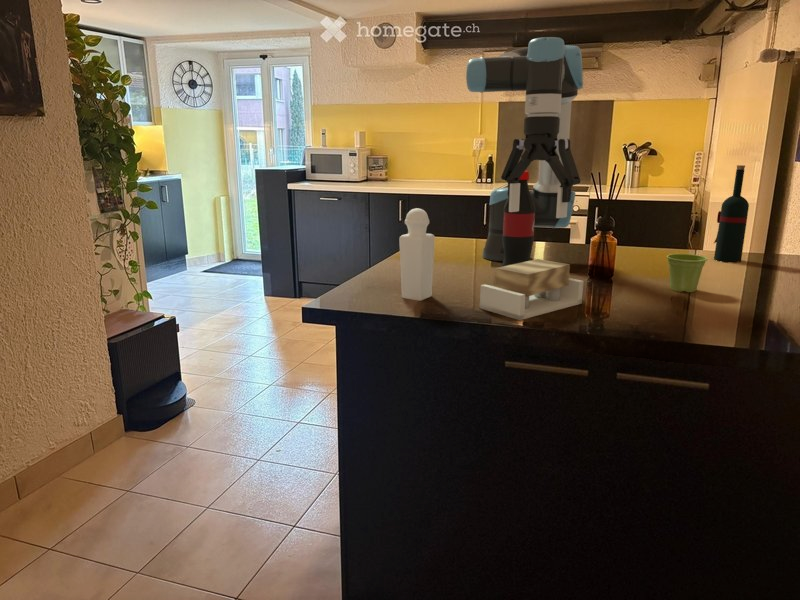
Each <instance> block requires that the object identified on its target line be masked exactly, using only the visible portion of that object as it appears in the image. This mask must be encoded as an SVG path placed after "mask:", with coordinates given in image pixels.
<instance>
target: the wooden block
mask: <svg viewBox="0 0 800 600" xmlns="http://www.w3.org/2000/svg"><path fill="white" fill-rule="evenodd" d="M570 269H571V266H570V264H569V263H565V262H564V263H563V262H557V261H552V260H547V259H542V258H541V259H539V258H537V259H536V258H535V259H532V260H531V259H530V261H526V262H522V263H517V264H512V265H508V266H503V267H501V266H499V267H496V268H495V278H494V279H495V280H494V281H495V282H494V283H495V284H494V287H498V288H502V289H506V290H510V291H514V292H517V293H521V294H525V296H526V297H528V296H532V295H535V294H539V293H542V292H546V291H549V290H553V289H557V288H560V287H564V286H567V285H568V284H569V278H570Z"/></svg>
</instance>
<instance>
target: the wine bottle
mask: <svg viewBox="0 0 800 600" xmlns="http://www.w3.org/2000/svg"><path fill="white" fill-rule="evenodd" d="M745 168H746V165H741V164H740V165H739V164H738V165H737V164H736V170H735V176H734V177H735V178H734V185H733V192H732V196H731V195H730V196H729V197H727V198H726V199H725V200H724V201H723V202H722V203H721V208H720V209H721V210H718V213H717V219H716V222H717V224H718V228H717V233H716V238H715V239H714V242H713V244H715V250H714V254H713V255H714V257H713V260H714V261H716V260H717V261H716V262H720V261H722V263H728V262H732V264H734V263H741V262H742V256H743V249H744V243H745V236H746V229H747V222H748V215H749V214H748V213H749V207H750V204H749V201H748V200H747V199H746V198H745V197H743V196H742V189H743V181H744V176H745V175H744V174H745Z"/></svg>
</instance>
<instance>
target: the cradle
mask: <svg viewBox="0 0 800 600" xmlns="http://www.w3.org/2000/svg"><path fill="white" fill-rule="evenodd" d="M583 289H584V280H580V279H575V278H571V277H569V284H568V285H567V286H564V287H560V288H557V289H553V290H549V291H546V292H542V293H539V294H535V295H532V296H528V297H526V296H525V294H521V293H517V292H514V291H510V290H506V289H502V288H498V287H495V285H489V284H486V283H485V284H481V285H480V292H479V294H480V295H479V296H480V297H479V309H481V310H484V311H488V312H491V313H494V314H497V315H499V316H500V315H501V316H503V317H504V316H505V317H507V318H511V319H515V320H518V321H522V320H526V319H529V318H532V317H533V318H534V317H536V316H541V315H544V314H548V313H551V312H555V311H558V310H559V311H560V310H563V309H566V308H569V307H573V306H577V305H580V304H581V305H582V302H583V292H584V291H583Z"/></svg>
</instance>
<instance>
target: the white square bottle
mask: <svg viewBox="0 0 800 600" xmlns="http://www.w3.org/2000/svg"><path fill="white" fill-rule="evenodd" d="M429 224H430V219H429V216H428V213H427V211H425V210H424V209H423V208H419V207H418V208H417V207H415V208H412V209H410V210H409V211H408V212H407V213H406V216H405V219H404V225H406V227H407V233H406V234H402V235H401V236H399V237H398V238H399V239H398V240H399V241H398V242H399V243H398V244H399V260H400V261H399V262H400V265H399V267H400V282H401V283H400V286H401V289H400V290H401V298H402V299H407V300H412V301H419V302H420V301H424V300H426V299H428V298H430V297H432V294H433V278H434V277H433V276H434V261H435V257H434V256H435V241H436V239H435V238H436V237H435V235H434V234H432V233H427V229H428V226H429Z"/></svg>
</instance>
